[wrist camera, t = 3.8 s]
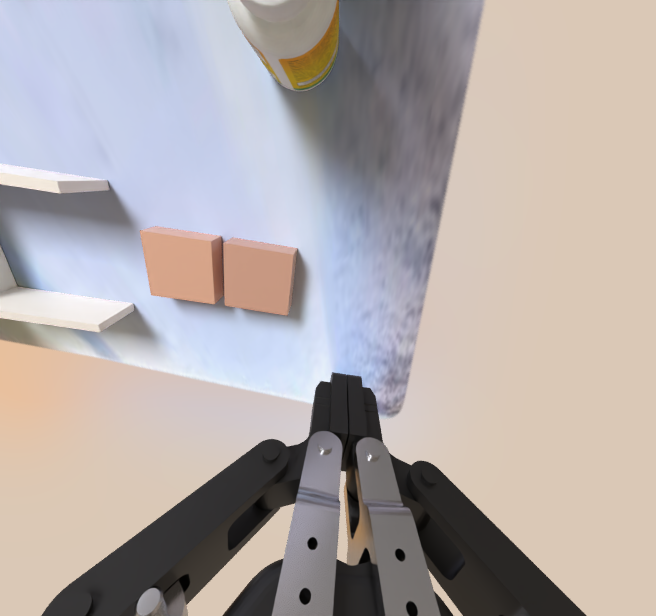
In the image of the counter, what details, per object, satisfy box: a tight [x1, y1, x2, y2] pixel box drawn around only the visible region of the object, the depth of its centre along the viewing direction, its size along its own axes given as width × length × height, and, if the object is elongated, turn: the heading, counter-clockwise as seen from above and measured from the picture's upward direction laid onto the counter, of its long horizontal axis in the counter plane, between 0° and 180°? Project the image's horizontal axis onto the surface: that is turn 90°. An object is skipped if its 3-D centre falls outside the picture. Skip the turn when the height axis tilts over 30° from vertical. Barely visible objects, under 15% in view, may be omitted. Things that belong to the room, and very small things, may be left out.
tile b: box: [223, 238, 297, 316], centre depth 25 cm, size 6×6×2 cm
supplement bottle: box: [227, 0, 339, 91], centre depth 14 cm, size 5×5×10 cm
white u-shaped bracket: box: [0, 164, 134, 332], centre depth 23 cm, size 13×13×4 cm
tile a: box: [140, 226, 224, 304], centre depth 25 cm, size 6×6×2 cm
